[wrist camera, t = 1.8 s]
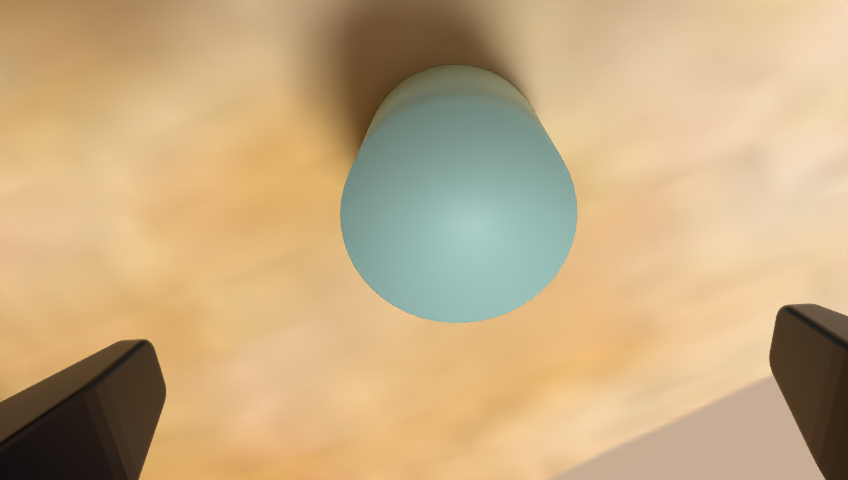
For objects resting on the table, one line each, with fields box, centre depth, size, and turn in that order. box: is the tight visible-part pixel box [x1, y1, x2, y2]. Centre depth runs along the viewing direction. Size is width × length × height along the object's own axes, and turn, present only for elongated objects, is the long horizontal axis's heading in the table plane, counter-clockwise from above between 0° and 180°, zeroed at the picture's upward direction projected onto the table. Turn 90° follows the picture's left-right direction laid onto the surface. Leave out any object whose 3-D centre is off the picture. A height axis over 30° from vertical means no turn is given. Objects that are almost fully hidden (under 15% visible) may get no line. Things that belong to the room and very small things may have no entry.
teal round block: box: [340, 64, 577, 323], centre depth 15 cm, size 5×5×5 cm
